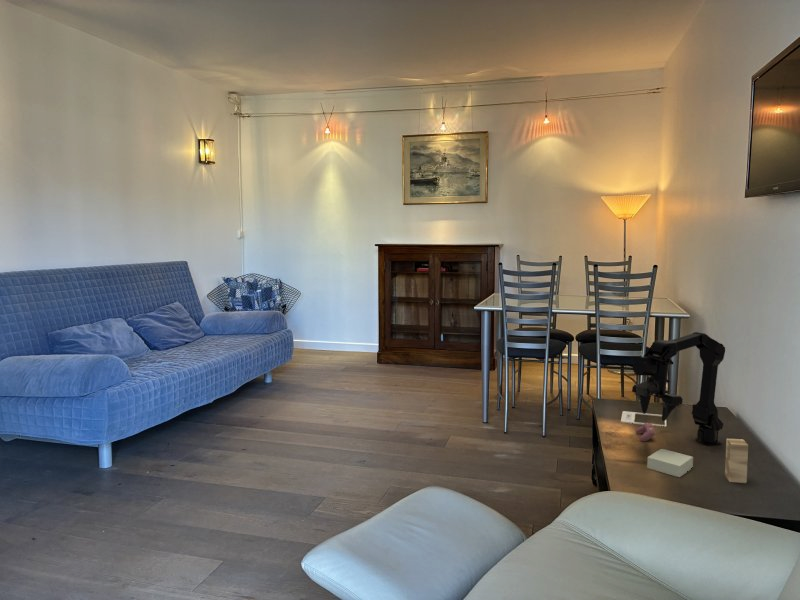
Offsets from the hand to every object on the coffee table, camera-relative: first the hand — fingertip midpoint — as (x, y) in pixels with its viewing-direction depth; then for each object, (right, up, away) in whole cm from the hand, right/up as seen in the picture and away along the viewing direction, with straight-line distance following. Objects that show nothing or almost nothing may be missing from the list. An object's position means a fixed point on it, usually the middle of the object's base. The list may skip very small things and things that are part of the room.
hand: (653, 417), depth 211 cm
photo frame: (+13, -10, +40) cm, 43 cm away
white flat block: (+1, -16, -11) cm, 19 cm away
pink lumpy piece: (+5, -12, +18) cm, 23 cm away
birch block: (+18, -16, -21) cm, 32 cm away
